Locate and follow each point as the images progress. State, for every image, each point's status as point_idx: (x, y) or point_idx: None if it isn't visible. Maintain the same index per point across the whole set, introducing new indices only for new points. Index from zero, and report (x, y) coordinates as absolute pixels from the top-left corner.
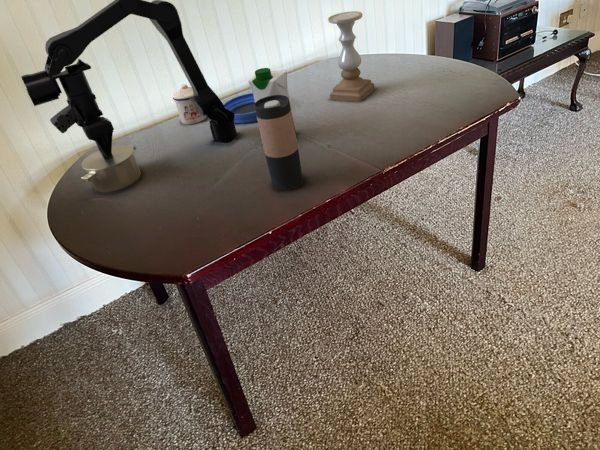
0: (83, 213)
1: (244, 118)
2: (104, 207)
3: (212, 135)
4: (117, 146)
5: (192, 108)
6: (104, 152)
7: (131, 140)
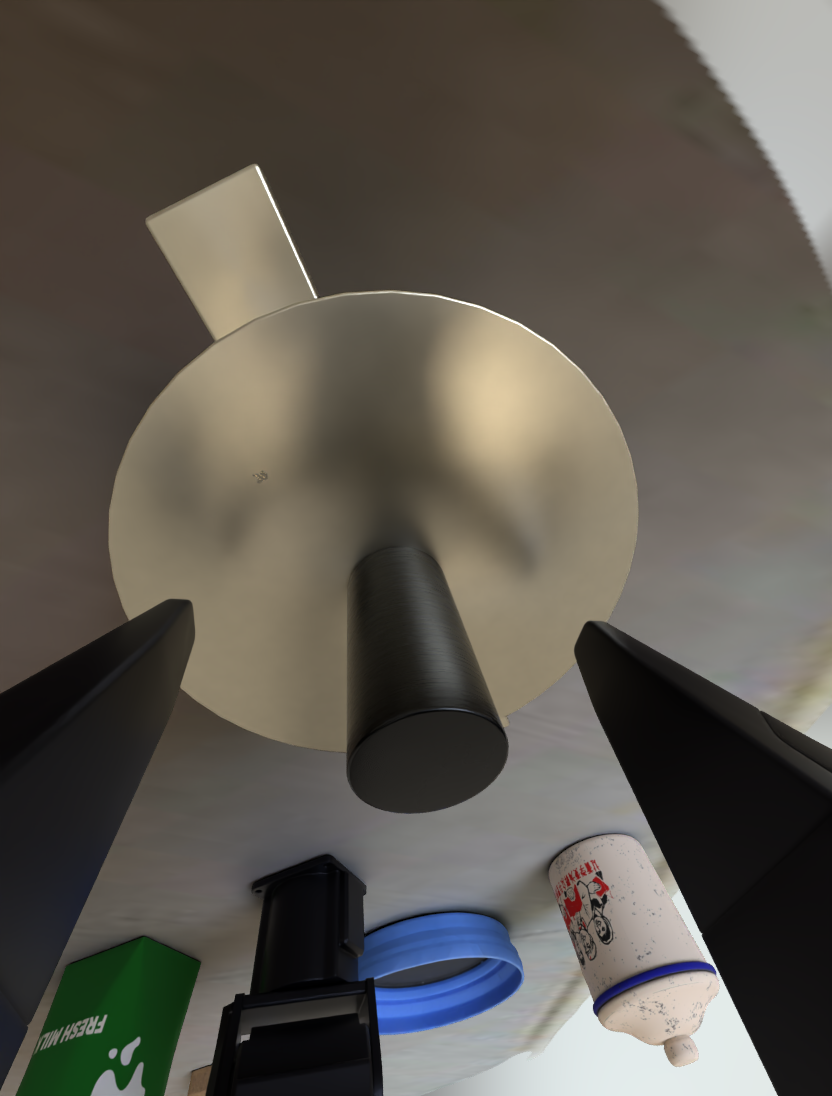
0: (42, 6)
1: (365, 958)
2: (25, 234)
3: (344, 888)
4: (515, 694)
5: (582, 933)
6: (96, 643)
7: (736, 687)
